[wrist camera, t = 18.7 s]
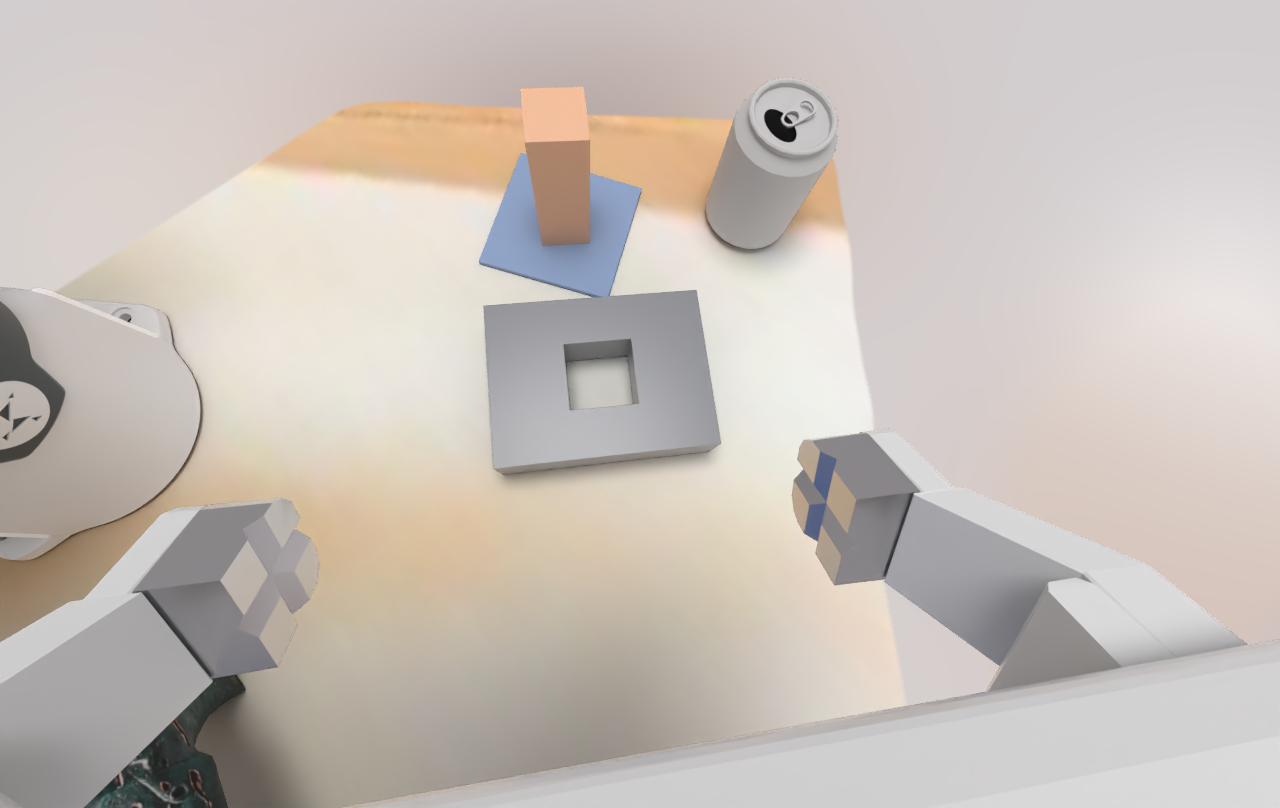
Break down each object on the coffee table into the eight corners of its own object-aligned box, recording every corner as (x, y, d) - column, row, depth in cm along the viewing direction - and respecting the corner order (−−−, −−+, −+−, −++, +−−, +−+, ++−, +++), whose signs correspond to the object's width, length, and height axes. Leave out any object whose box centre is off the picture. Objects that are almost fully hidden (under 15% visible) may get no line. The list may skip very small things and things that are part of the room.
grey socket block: (502, 474, 39) (493, 468, 35) (493, 326, 42) (483, 305, 38) (708, 451, 41) (720, 443, 37) (687, 311, 44) (696, 289, 40)
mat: (479, 263, 43) (478, 261, 43) (521, 156, 46) (520, 153, 45) (607, 300, 43) (607, 298, 43) (641, 191, 46) (641, 188, 46)
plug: (542, 246, 44) (524, 142, 32) (538, 204, 44) (520, 88, 33) (590, 243, 44) (589, 139, 32) (585, 201, 45) (583, 86, 33)
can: (687, 202, 46) (719, 92, 35) (753, 167, 48) (805, 50, 36) (735, 268, 45) (784, 178, 34) (801, 230, 47) (870, 131, 35)
